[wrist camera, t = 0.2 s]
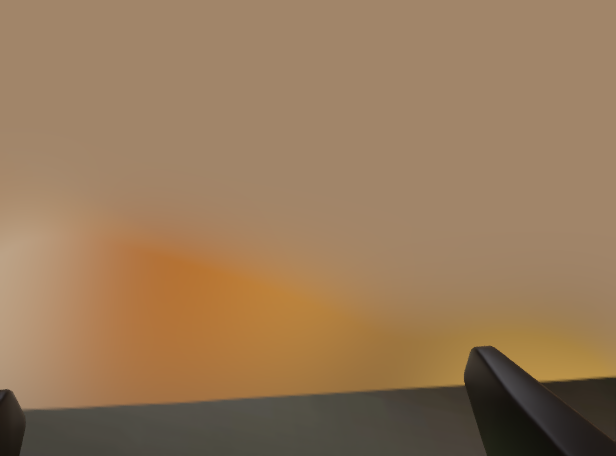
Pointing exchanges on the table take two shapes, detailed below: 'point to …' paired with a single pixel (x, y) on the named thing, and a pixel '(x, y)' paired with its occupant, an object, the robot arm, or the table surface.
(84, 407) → the table surface
